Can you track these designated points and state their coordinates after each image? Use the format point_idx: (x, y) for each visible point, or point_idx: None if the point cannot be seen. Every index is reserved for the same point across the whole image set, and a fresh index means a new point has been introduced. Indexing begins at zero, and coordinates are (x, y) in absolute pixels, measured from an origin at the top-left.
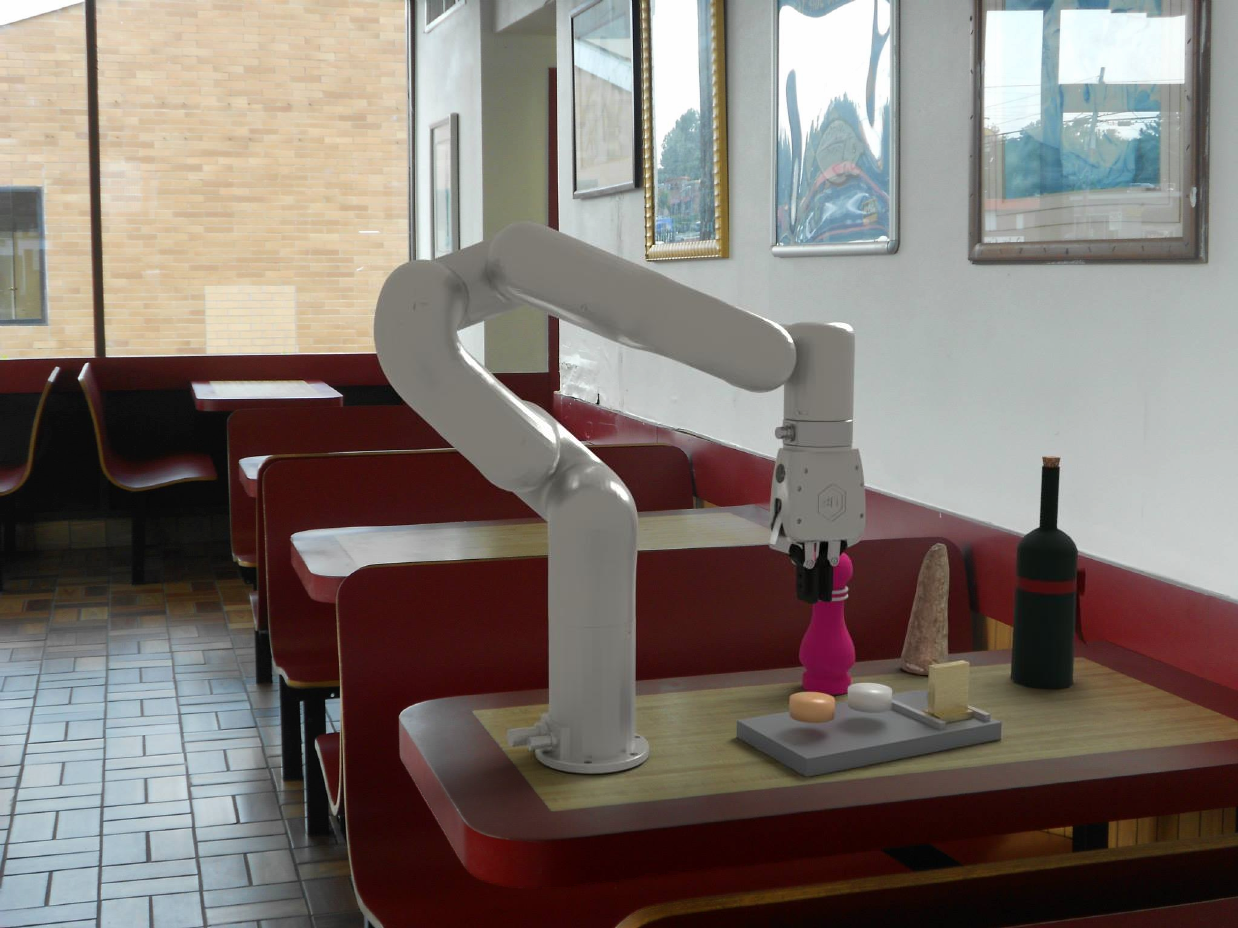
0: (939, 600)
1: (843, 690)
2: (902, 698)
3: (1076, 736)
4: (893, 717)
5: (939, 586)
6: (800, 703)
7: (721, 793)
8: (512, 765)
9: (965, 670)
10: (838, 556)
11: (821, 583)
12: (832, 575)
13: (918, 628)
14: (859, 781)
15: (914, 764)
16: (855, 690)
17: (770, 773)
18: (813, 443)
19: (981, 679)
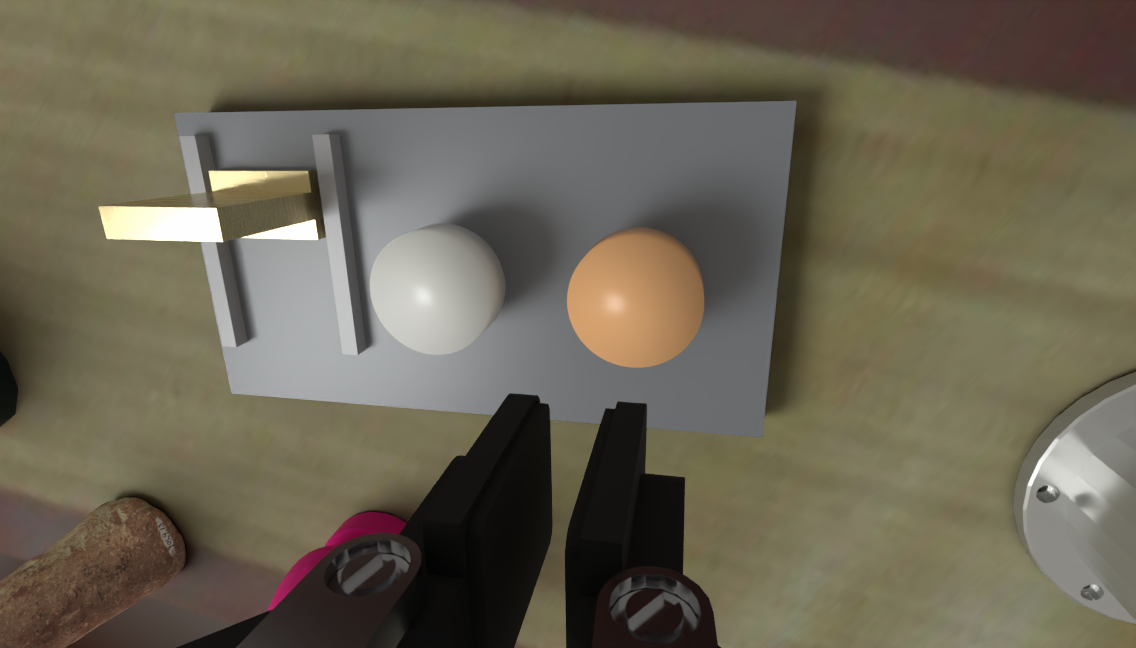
0: None
1: (368, 515)
2: (302, 365)
3: (47, 50)
4: None
5: None
6: (697, 281)
7: (1083, 99)
8: None
9: (132, 203)
10: (303, 589)
11: (524, 501)
12: (451, 477)
13: (77, 601)
14: (683, 12)
15: (483, 58)
16: (473, 304)
17: (854, 169)
18: None
19: (70, 437)
